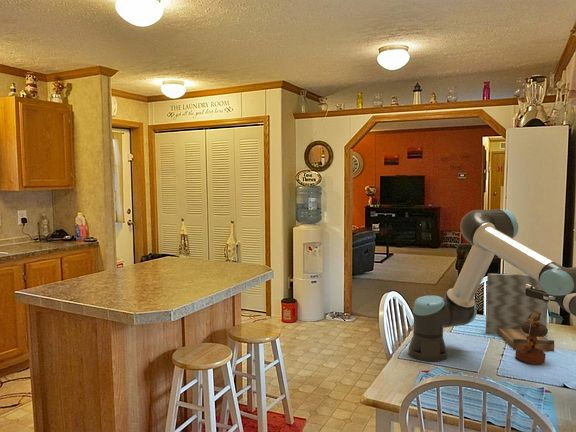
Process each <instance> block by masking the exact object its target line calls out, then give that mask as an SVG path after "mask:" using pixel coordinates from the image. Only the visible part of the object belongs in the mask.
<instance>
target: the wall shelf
mask: <svg viewBox="0 0 576 432" xmlns="http://www.w3.org/2000/svg"><path fill="white" fill-rule="evenodd" d="M486 280H487V281H486V283H487V284H486V306H485V310H486V312H485V334H486V335H496V336H497V335H498V336H499V337H500V338H501V339H502V340H503V341H504V342H505V343H506V344H507V345H508V346H509V347H510V348H511V349H512V348H513V349H512V350H513V351H516V347H518V346H520V345H526V343H527V342H528V340H527V339H526V338H527V336H528V334H526V333H524V332H523V331H522V329H521V325H522V323H523V322H525V321H529V320H526V319H528V317H529V315H531V314H534V313H535V312H536V311H539V312H540V313H541V316H540V320H538V321H539V323H541V324H543V325H545V326H546V327H547V326H548V303H549V302H545V301H543V300H540V299H536V298H533V297H529V296H525V291H526V284H529V285H531V286H533V287H535V289H539V290H543V289H542V287H541V285H540V282H539V281H537V280H535V279H534V278H532V277H531V276H529V275H527V274H525V273H524V274H523V273H522V274H519V273H517V274H516V273H512V274H511V273H487V278H486ZM534 322H537V321H534ZM547 328H548V327H547ZM536 341H537V344H536V345H535V347H536V348H538V349H541V350H542V351H543V352H549V351H554V352H555V340H554V339H548V338H547V335H545V336H543V337H537V340H536Z"/></svg>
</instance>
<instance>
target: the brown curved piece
mask: <svg viewBox="0 0 576 432" xmlns="http://www.w3.org/2000/svg"><path fill="white" fill-rule="evenodd" d="M540 316H541V313H540V312H539V311H536V312H535V313H534V314H531V315H529V317H528V319H526V320H529V321H525V322H523V323H522V325H521V329H522V331H523V332H524V333H526V334H528V336H527V338H526V339H527V340H528V342H527V343H526V345H520V346H518V347H516V350H515V355H514V356H515V358H517V359H518V360H520V361H522V362H524V363H527V364H531V365H532V364H533V365H544V364H545V363H544V362H546V356H547V354H546V353H545V351H542V350H541V349H538V348H536V347H535V345H536V344H537V341H536V340H537V337H543V336H544V337H546V336H547V335H548V333H549V330H548V327H546V326H545V325H543V324H541V323H539V321H538V320H540ZM534 321H537V322H534ZM545 335H546V336H545ZM543 363H544V364H543Z"/></svg>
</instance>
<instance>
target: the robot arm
mask: <svg viewBox="0 0 576 432" xmlns="http://www.w3.org/2000/svg"><path fill="white" fill-rule="evenodd" d="M459 229H460V233H461V235H462V237H463V238H464V239H465V240H466V241H467V242H468V243H470V244H471V245H472V246H471V249H470V251H469V253H468V254H467V256H466V259H465V261H464V263H463V265H462V268H461V270H460V272H459V274H458V276H457V279H456V281H455V283H454V285H453V287H452V288H449V289H448V290H447V291H446V293H445V296H444V297H442V296H438V295H434V294H433V295H423V296H420V297H418V298H416V299H415V301H414V303H413V308H412V309H413V310H412V313H413V322H412V323H413V325H412V326H413V328H412V329H413V330H412V331H413V333H412V338H411V339H410V340H411V341H410V342H409V345H408V355H409V356H410V357H411V358H414V359H415V360H421V361H426V362H441V361H444V360H446V359H447V358H448V349H447V345H446V343H445V340H444V329H445V328H446V329H447V328H452V327H459V326H460V327H462V326H465V325H467V324H468V325H469V324H470V323H472V322H473V321H474V320H475V319H476V316H477V313H478V312H477V311H478V310H477V304H476V299H475V295H476V294H477V292H478V289H479V287H480V285H481V284H482V282H483V279H484V277H485V276H486V273H487V272H488V270H489V267H490V265H491V263H492V261H493V259H494V257H495V256H496V257H498V258H500V259H502V260H503V261H504V262H506V263H508V264H510V265H511V266H513V268H516V269H518V270H519V271H521V272H523V273H524V274H525V275H529V276H531V277H532V278H534V279H535V280H537V281H539V282H540V285H541V287H542V289H543V290H539V289H535V287H533V286H531V285H529V284H526V291H525V296H529V297H533V298H536V299H540V300H543V301H545V302H548V303H549V302H554V303H556V304H557V305H558V306H559V308H561V310H563V311H566V312H567V313H569V314H571V315H573V316H575V317H576V266H573V267H565V266H562V265H561V264H559V263H557V262H555V261H554V260H552V259H550V258H549V257H547V256H544V255H543V254H541V253H539V252H537V251H536V250H534V249H532V248H530V247H529V246H527V245H525V244H524V243H521V242H520V241H518V240H516V239H515V238H516V236H517V235H518V232H519V222H518V219H517V217H516V215H514V213H513V212H512V211H510V210H508V209H500V208H495V209H475V210H471V211H469V212H467V213H466V214H465V215H464V216H463V217H462V219H461V221H460V223H459Z"/></svg>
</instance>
